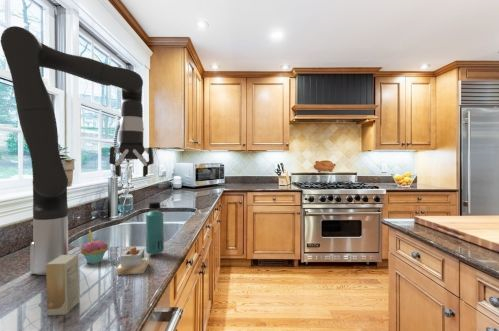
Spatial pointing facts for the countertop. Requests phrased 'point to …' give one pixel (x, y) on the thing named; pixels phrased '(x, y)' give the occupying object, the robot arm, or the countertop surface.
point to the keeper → (133, 268)
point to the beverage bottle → (154, 230)
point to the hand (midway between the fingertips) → (132, 176)
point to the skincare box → (62, 284)
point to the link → (132, 258)
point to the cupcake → (94, 250)
